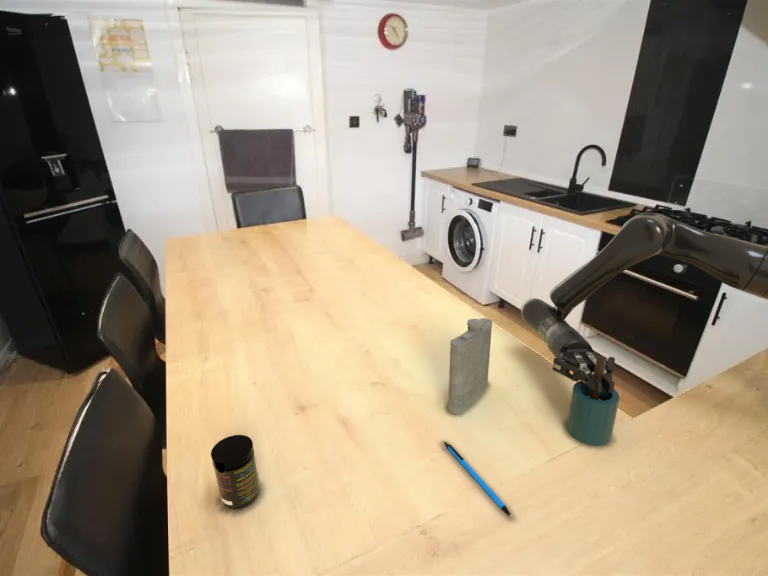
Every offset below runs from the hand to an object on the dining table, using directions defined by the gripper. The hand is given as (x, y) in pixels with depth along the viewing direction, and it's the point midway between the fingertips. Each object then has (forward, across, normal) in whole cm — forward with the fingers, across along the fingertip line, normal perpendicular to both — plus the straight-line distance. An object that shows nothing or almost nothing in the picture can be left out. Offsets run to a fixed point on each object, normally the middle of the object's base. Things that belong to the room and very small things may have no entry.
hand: (605, 388), depth 78 cm
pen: (+8, -26, +13) cm, 30 cm away
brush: (-3, 0, +11) cm, 11 cm away
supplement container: (+11, -68, +13) cm, 70 cm away
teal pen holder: (-3, 0, +13) cm, 13 cm away
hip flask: (-16, -22, +13) cm, 30 cm away
